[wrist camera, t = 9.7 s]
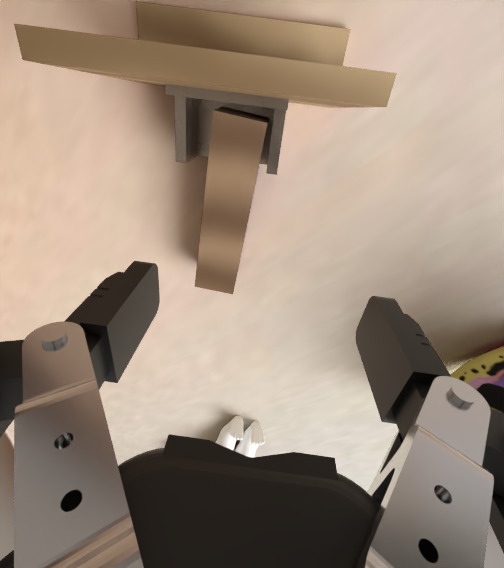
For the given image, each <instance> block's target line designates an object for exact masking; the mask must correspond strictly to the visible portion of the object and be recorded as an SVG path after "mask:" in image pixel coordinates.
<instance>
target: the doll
mask: <svg viewBox="0 0 504 568" xmlns="http://www.w3.org/2000/svg"><path fill="white" fill-rule="evenodd" d="M243 426H244V423H243V419H242V417H240V416H235V417H234V418H233V419H232V420H231V421H230V422H229V423H228V424H226V425H225V426H224V427H223V428H222V430H221V432H220V434H219V437H218V440H217V441H216V442H215V443H217V444H219V445H222V446H224V447H226V448H229V449H231V450H233V451H236V452H238V453H240V454H243V455H245V456H248V457H252V458H254V456H255V451H256V449H257V447H258V445H263V444H265V436H264V431H263V428H262V426H261V424H260V423H259V422H257V421H254V422H253V423H252V424H251V425H250V426H249V427H248V428H247V430H246V431H245V432H243ZM236 440H240V443H239V444H238V445H237V446H236V448H235V449H234V447H235V443H236Z"/></svg>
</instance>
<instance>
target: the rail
mask: <svg viewBox="0 0 504 568" xmlns="http://www.w3.org/2000/svg"><path fill="white" fill-rule="evenodd" d="M268 119H269V117H265V116H260V115H256V114H252V113H248V112H244V111H239V110H235V109H231V108H227V107H223V106H222V107H219V108H217V109H215V110H213V119H212V128H211V138H210V147H209V157H208V166H207V176H206V185H205V195H204V204H203V213H202V223H201V232H200V242H199V251H198V261H197V270H196V280H195V287H200V288H205V289H210V290H215V291H220V292H225V293H230V294H233V291H234V286H235V281H236V277H237V272H238V267H239V262H240V257H241V252H242V247H243V242H244V237H245V232H246V228H247V223H248V218H249V213H250V208H251V203H252V198H253V193H254V188H255V183H256V178H257V173H258V169H259V164H260V159H261V154H262V149H263V144H264V139H265V134H266V129H267V124H268Z"/></svg>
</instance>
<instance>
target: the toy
mask: <svg viewBox="0 0 504 568" xmlns="http://www.w3.org/2000/svg"><path fill="white" fill-rule="evenodd" d="M450 375H451V377H453V378H456V379H459V380H461V381H463V382H465V383H467V384H468V385H470V386H471V387H473V388H474V389H475V390H477V391H478V392H479V393H480V394H481V395H482V396H483V397H484V399H485V400H486V401H487V403H488V405H489V407H490V408H491V409H494V410H496V411H499V412H502V413H504V346H502V347H499V348H496V349H493V350H491V351H488V352H486V353H484V354H481V355H479V356H477V357H475V358H473V359H472V360H470V361H468V362H467V363H465V364H464V365H462V366H461V367H460V368H458V369H457V370H456V371H455V372H453V373H452V374H450Z"/></svg>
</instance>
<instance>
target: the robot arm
mask: <svg viewBox="0 0 504 568" xmlns="http://www.w3.org/2000/svg"><path fill="white" fill-rule="evenodd" d="M158 307H159V280H158V267H157V265H156V264H154V263H147V262H140V261H134V262H133V263H132V264H131V265H130V266H129V267H128V268H127V270H126V271H125V272H124V273H123V272H117V273H115V274H113V275H111V276H109V277H108V278H106V279H105V280H104V281H103V282H102V283H101V284H100V285H99V286H98V287H97V289H95V290H94V291H93V292H92V293H91V295H90V296H88V297H87V298H86V299H85V301H84V302H83V303H82V304H81V305H80V306H79V307H78V308H77V309H76V310H75V311H74V312H73V313H72V314H71V315H70V316H69V317H68V318H67V319H66V320H65V321H64V322H55V323H50V324H47V325H44V326H42V327H40V328H38V329H36V330H34V331H33V332H31V333H30V334H29V335H28V336H27V337H26V338H25V340H16V341H5V342H0V437H1V436H2V434H3V433H4V432H5V430H6V429H7V428H8V426H9V425H10V424H11V422H12V421H13V420H14V419H15V421H14V452H15V454H14V550H13V551H12V552H11V553H9V554H8V555H7V556H5V557H4V558H3V559H2V560H1V561H0V568H484V559H485V551H486V543H487V535H488V526H489V522H490V524H491V526H492V528H493V531H494V533H495V535H496V537H497V539H498V541H499V544H500V546H501V548H502V550H503V553H504V413H502V412H499V411H496V410H494V409H491V408H490V407H489V405H488V403H487V401H486V400H485V399H484V397H483V396H482V395H481V394H480V393H479V392H478V391H477V390H475V389H474V388H473V387H471V386H470V385H468V384H467V383H465V382H463V381H461V380H459V379H456V378H453V377H451V375H450V374H449V372H448V371H447V369H446V367H445V366H444V364H443V363H442V361H441V359H440V358H439V356H438V355H437V353H436V351H435V350H434V348H433V347H432V346H431V343H430V342H429V340H428V339H427V337H425V334H424V332H423V331H422V329H421V328H420V326H419V324H417V323H416V322H415V321H414V320H413V319H412V318H411V317H410V316H408V315H407V314H404V313H403V312H402V310H401V308H400V307H399V305H398V303H397V302H396V300H395V299H391V298H384V297H377V296H372V297H371V298H370V299H369V301H368V304H367V306H366V308H365V311H364V313H363V315H362V318H361V320H360V323H359V325H358V327H357V331H356V343H357V347H358V350H359V353H360V356H361V359H362V362H363V365H364V368H365V371H366V374H367V377H368V381H369V384H370V387H371V390H372V393H373V396H374V399H375V402H376V405H377V408H378V411H379V414H380V417H381V420H382V422H387V423H394V424H397V426H398V429H399V431H398V432H397V433H396V435H395V436H394V439H393V441H392V443H391V445H390V447H389V449H388V451H387V453H386V456H385V458H384V460H383V462H382V464H381V466H380V468H379V470H378V472H377V475H376V477H375V479H374V481H373V483H372V484H371V486H370V488H369V489H368V491H367V492H366V491H365V490H364V489H362V488H361V487H360V486H359V485H357V484H356V483H354V482H353V481H352V480H350V479H348V478H346V477H345V476H343V475H341V474H339V473H337V470H336V464H335V458H331V457H324V456H317V455H310V454H303V453H296V452H292V453H285V454H277V455H270V456H263V457H254V458H252V457H248V456H245V455H243V454H240V453H238V452H236V451H233V450H231V449H229V448H226V447H224V446H222V445H219V444H217V443H215V442H213V441H210V440H204V439H197V438H190V437H183V436H176V435H169V436H168V439H167V442H166V445H165V448H159V449H155V450H151V451H147V452H144V453H142V454H139V455H137V456H135V457H133V458H131V459H129V460H127V461H125V462H123V463H122V464H120V465H119V466H118V464H117V460H116V456H115V452H114V448H113V444H112V441H111V437H110V433H109V429H108V425H107V421H106V417H105V413H104V409H103V405H102V401H101V397H100V393H99V389H100V387H101V386H102V384H103V382H104V381H108V382H115V383H118V381H119V379H120V377H121V376H122V374H123V372H124V370H125V368H126V367H127V365H128V363H129V361H130V360H131V358H132V356H133V354H134V352H135V351H136V349H137V347H138V345H139V344H140V342H141V340H142V338H143V337H144V335H145V333H146V331H147V329H148V328H149V326H150V324H151V322H152V321H153V319H154V317H155V315H156V313H157V311H158Z"/></svg>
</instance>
